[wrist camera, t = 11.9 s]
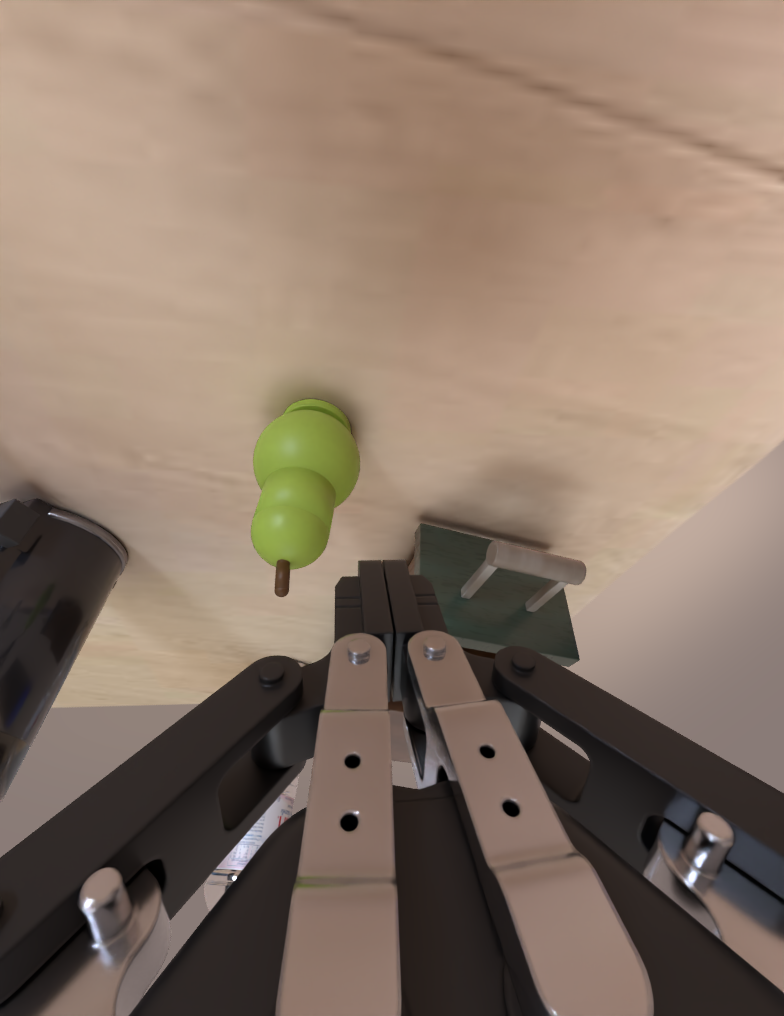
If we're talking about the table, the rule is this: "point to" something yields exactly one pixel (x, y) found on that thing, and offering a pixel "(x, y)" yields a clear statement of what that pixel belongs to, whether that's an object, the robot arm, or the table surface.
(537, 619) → the drawer
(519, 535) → the table surface
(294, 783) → the water bottle
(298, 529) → the pear
